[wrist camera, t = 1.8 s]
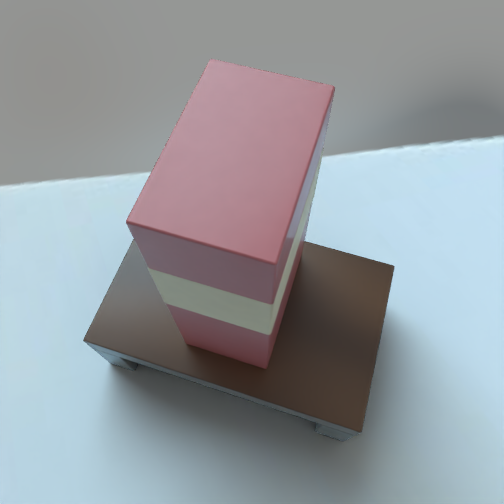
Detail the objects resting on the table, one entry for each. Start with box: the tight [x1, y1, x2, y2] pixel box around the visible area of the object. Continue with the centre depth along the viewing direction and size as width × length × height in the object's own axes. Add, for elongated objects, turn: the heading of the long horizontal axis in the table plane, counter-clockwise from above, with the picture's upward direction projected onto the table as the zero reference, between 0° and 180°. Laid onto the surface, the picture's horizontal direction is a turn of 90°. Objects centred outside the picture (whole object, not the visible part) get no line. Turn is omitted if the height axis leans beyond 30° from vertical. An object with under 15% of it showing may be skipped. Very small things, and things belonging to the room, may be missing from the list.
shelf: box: [83, 239, 394, 441], centre depth 22 cm, size 8×12×4 cm, turn 72°
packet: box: [126, 59, 335, 369], centre depth 16 cm, size 6×4×10 cm, turn 162°
